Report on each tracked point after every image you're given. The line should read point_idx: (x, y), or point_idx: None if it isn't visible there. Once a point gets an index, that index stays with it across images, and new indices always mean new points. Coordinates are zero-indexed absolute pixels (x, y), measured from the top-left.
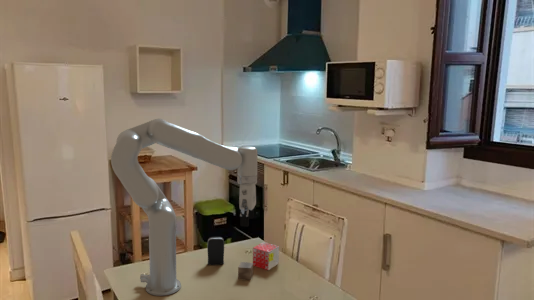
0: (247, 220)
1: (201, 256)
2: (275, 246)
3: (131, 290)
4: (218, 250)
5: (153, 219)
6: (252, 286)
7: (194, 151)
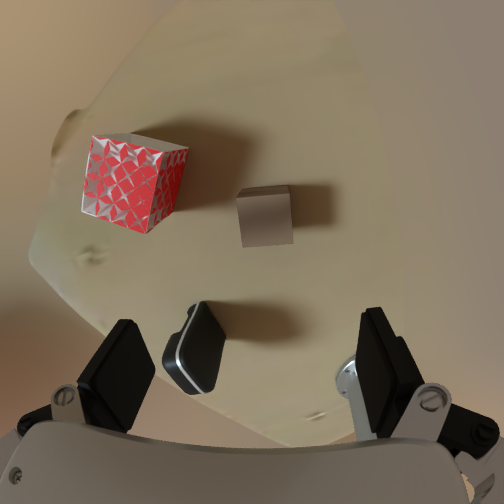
0: (398, 354)
1: None
2: (95, 150)
3: None
4: (202, 342)
5: None
6: (330, 167)
7: None
